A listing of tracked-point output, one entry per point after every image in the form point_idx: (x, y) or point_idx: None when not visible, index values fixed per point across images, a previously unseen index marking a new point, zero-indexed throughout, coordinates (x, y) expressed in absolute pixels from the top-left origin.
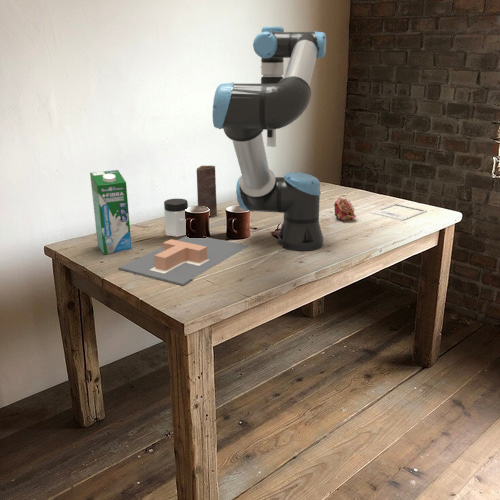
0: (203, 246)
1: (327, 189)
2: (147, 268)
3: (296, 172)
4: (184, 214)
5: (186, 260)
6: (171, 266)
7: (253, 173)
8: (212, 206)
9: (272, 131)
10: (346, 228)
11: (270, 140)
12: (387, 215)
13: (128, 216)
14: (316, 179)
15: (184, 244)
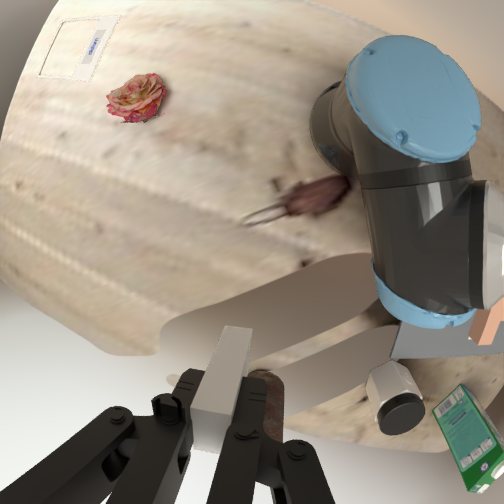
0: None
1: (4, 231)
2: None
3: (392, 121)
4: (408, 387)
5: None
6: None
7: None
8: (273, 387)
9: (236, 403)
10: (209, 72)
11: (245, 372)
12: (101, 46)
13: (482, 415)
14: (408, 40)
15: (496, 311)
